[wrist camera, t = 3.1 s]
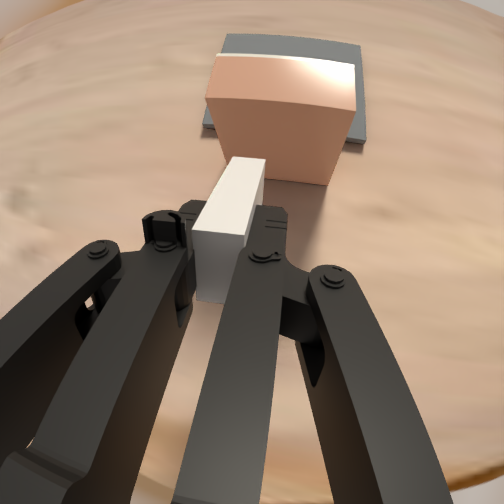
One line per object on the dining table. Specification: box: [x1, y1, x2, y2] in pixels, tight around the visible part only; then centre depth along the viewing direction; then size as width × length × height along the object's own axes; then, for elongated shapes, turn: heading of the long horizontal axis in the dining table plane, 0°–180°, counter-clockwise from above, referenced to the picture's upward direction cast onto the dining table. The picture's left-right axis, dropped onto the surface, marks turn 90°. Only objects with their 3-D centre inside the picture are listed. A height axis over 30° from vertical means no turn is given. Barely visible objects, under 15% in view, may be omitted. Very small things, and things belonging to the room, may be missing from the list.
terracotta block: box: [205, 53, 356, 186], centre depth 24 cm, size 4×9×12 cm, turn 82°
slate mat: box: [202, 34, 366, 144], centre depth 31 cm, size 14×16×1 cm
